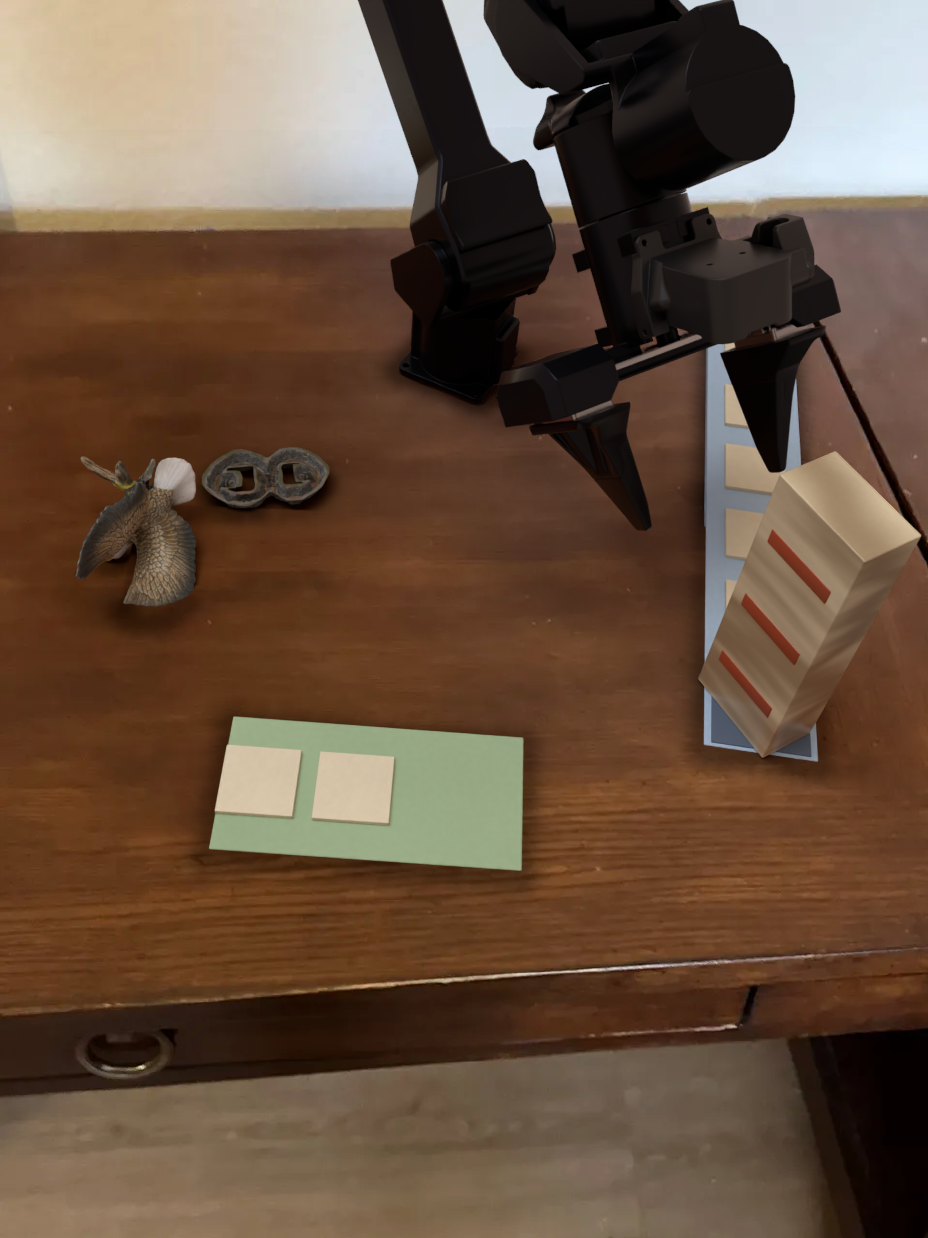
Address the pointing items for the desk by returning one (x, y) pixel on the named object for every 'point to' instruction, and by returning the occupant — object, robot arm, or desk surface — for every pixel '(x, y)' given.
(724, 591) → the right mat
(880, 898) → the desk surface
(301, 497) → the corroded twin loop
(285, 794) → the left mat
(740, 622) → the red striped wooden block
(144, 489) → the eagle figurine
